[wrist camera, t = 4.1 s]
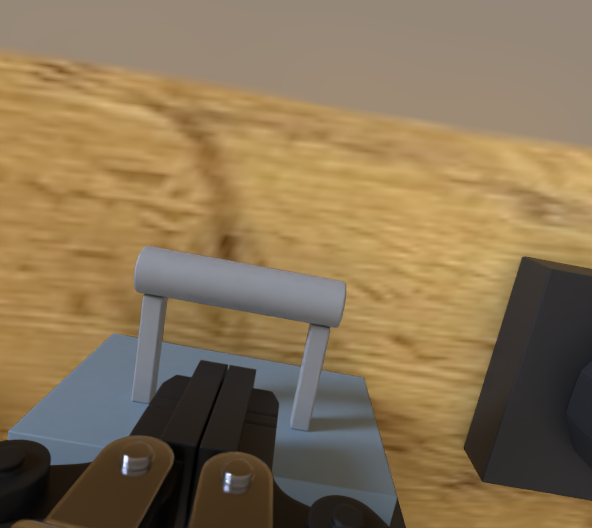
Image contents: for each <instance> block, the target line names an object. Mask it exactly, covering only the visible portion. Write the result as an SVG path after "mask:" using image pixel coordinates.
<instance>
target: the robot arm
mask: <svg viewBox="0 0 592 528" xmlns="http://www.w3.org/2000/svg"><path fill="white" fill-rule="evenodd" d="M256 371H257V369H251V368H246V367H240V366H234V365H230V366H229V368H228V364H223V363H217V362H211V361H206V360H200V362H199V364H198V366H197V368H196V369H195V371H194V373H193V375H192V377H188V376H182V375H175V376H173V377H172V378H170V379H168V380H167V381H165V382H163V383H162V384H161V386H160V388H159V389H158V391H157V392H156V394H155V397H153V399H152V400H151V402H150V403H149V406H147V408H146V410H145V411H144V413H143V414H142V416H141V417H140V419H139V421H138V422H137V424H136V425H135V427H134V428H133V430H132V432H131V433H130V435H129V436H127V437H123V438H120V439H117V440H115V441H113V442H111V443H110V444H108V445H107V446H106V447H105V448H104V449H103V450H102V451H101V452H100V453H99V454H98V455H97V457H96V458H95V459H94V460H93V461H92V462H88V463H80V464H65V465H50V464H51V455H50V452H49V450H48V449H47V448H46V447H45V446H43V445H42V444H40V443H37V442H35V441H30V440H6V441H1V442H0V528H187V526H188V528H390V527H389V526H388V525H387V524H386V523H385V522H384V521H383V520H382V519H381V518H380V517H379V516H378V515H377V514H376V513H375V512H374V511H373V510H372V509H371V508H369V507H368V506H367V505H365V504H364V503H362V502H360V501H358V500H356V499H354V498H351V497H347V496H342V495H329V496H325V497H322V498H320V499H318V500H316V501H315V502H314V503H313V504H312V506H311V507H310V506H308V505H305V504H303V503H301V502H299V501H297V500H295V499H293V498H291V497H290V496H288V495H287V494H286V493H285V492H283V491H282V490H281V489H280V487H279V486H278V485H277V483H276V482H275V480H274V477H273V473H272V466H273V457H274V448H275V439H276V430H277V421H278V412H279V402H278V400H277V398H276V396H275V395H274V393H273V391H268V390H262V389H257V388H254V383H255V377H256Z"/></svg>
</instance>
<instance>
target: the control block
mask: <svg viewBox="0 0 592 528" xmlns="http://www.w3.org/2000/svg"><path fill="white" fill-rule="evenodd" d="M464 450H465V452H466V453H467V455H468V457H469V459H470V461H471V462H472V464H473V466H474V468H475V470H476V471H477V473H478V475H479V477H480V479H481V480H482V481H483V482H486V483H492V484H498V485H504V486H510V487H516V488H521V489H527V490H533V491H539V492H545V493H551V494H556V495H562V496H568V497H574V498H580V499H585V500H591V501H592V269H589V268H584V267H578V266H573V265H568V264H562V263H557V262H551V261H546V260H541V259H535V258H530V257H522V260H521V264H520V267H519V270H518V273H517V277H516V280H515V283H514V286H513V290H512V293H511V296H510V299H509V303H508V306H507V309H506V312H505V316H504V319H503V322H502V326H501V329H500V332H499V335H498V339H497V342H496V345H495V348H494V352H493V355H492V358H491V361H490V365H489V368H488V371H487V374H486V378H485V381H484V384H483V387H482V391H481V394H480V397H479V400H478V404H477V407H476V410H475V414H474V417H473V420H472V423H471V427H470V430H469V433H468V436H467V440H466V443H465V446H464Z"/></svg>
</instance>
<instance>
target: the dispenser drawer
mask: <svg viewBox="0 0 592 528" xmlns="http://www.w3.org/2000/svg"><path fill="white" fill-rule="evenodd" d="M134 287H135V290H136V291H137V292H139V293H145V295H144V296H143V302H142V311H141V319H140V328H139V337H138V338H137V337H131V336H126V335H120V334H112V335H111V336H110V337H109V338H108V339H107V340H106V341H104V342H103V343H102V344H101V345H100V346H99V347H98V348H97V349H96V350H95V351H94V352H93V353H92V354H91V355H89V356H88V357H87V358H86V359H85V360H84V361H83V362H82V363H81V364H80V365H79V366H78V367H77V368H76V369H74V370H73V371H72V372H71V373H70V374H69V375H68V376H67V377H66V378H65V379H64V380H63V381H62V382H60V383H59V384H58V385H57V386H56V387H55V388H54V389H53V390H52V391H51V392H50V393H49V394H48V395H47V396H45V397H44V398H43V399H42V400H41V401H40V402H39V403H38V404H37V405H36V406H35V407H34V408H33V409H32V410H30V411H29V412H28V413H27V414H26V415H25V416H24V417H23V418H22V419H21V420H20V421H19V422H18V423H16V424H15V425H14V426H13V427H12V428H11V429H10V430H9V431H8V440H30V441H35V442H37V443H40V444H42V445H43V446H45V447H46V448H47V449H48V450H49V452H50V455H51V464H50V465H65V464H80V463H88V462H92V461H93V460H94V459H95V458H96V457H97V455H98V454H99V453H100V452H101V451H102V450H103V449H104V448H105V447H106V446H107V445H108V444H110V443H111V442H113V441H115V440H117V439H120V438H123V437H127V436H129V435H130V433H131V432H132V430H133V428H134V427H135V425H136V424H137V422H138V421H139V419H140V417H141V416H142V414H143V413H144V411H145V410H146V408H147V406H149V403H150V402H151V400H152V399H153V397H155V394H156V392H157V391H158V389H159V388H160V386H161V384H162V383H163V382H165V381H167V380H168V379H170V378H172V377H173V376H175V375H182V376H188V377H192V375H193V373H194V371H195V369H196V368H197V366H198V364H199V362H200V360H206V361H211V362H217V363H223V364H228V368H229V366H230V365H234V366H240V367H246V368H251V369H257V371H256V377H255V383H254V388H257V389H262V390H268V391H273V393H274V395H275V396H276V398H277V400H278V402H279V412H278V421H277V430H276V439H275V448H274V457H273V466H272V473H273V477H274V480H275V482H276V483H277V485H278V486H279V487H280V489H281V490H282V491H283V492H285V493H286V494H287V495H288V496H290V497H291V498H293V499H295V500H297V501H299V502H301V503H303V504H305V505H308V506H310V507H311V506H312V504H313V503H314V502H315V501H316V500H318V499H320V498H322V497H325V496H329V495H342V496H347V497H351V498H354V499H356V500H358V501H360V502H362V503H364V504H365V505H367V506H368V507H369V508H371V509H372V510H373V511H374V512H375V513H376V514H377V515H378V516H379V517H380V518H381V519H382V520H383V521H384V522H385V523H386V524H387V525H388V526H390V522H391V519H392V515H393V511H394V508H395V504H396V500H397V494H396V491H395V487H394V483H393V480H392V476H391V473H390V469H389V465H388V462H387V458H386V455H385V451H384V447H383V444H382V440H381V437H380V433H379V429H378V426H377V422H376V419H375V415H374V412H373V408H372V404H371V401H370V397H369V394H368V390H367V386H366V383H365V379H364V378H363V377H357V376H352V375H346V374H340V373H335V372H329V371H323V370H322V366H323V362H324V357H325V353H326V348H327V343H328V339H329V334H330V327H334V328H336V327H338V326H339V324H340V322H341V319H342V315H343V311H344V306H345V299H346V283H345V282H344V281H339V280H333V279H328V278H323V277H317V276H312V275H306V274H301V273H295V272H290V271H284V270H279V269H273V268H268V267H262V266H257V265H251V264H246V263H240V262H235V261H229V260H224V259H219V258H213V257H208V256H202V255H197V254H191V253H186V252H180V251H175V250H169V249H164V248H158V247H153V246H145V247H144V248H143V249H142V250H141V252H140V254H139V257H138V259H137V262H136V266H135V272H134ZM168 298H173V299H178V300H184V301H189V302H195V303H201V304H206V305H212V306H217V307H223V308H228V309H234V310H240V311H245V312H251V313H256V314H262V315H267V316H273V317H278V318H284V319H290V320H295V321H301V322H306V323H310V325H309V330H308V334H307V339H306V344H305V349H304V354H303V359H302V364H301V366H295V365H290V364H284V363H278V362H273V361H267V360H261V359H256V358H250V357H244V356H239V355H233V354H227V353H222V352H216V351H210V350H205V349H199V348H193V347H188V346H182V345H176V344H171V343H165V342H162V339H163V331H164V323H165V315H166V308H167V300H168Z"/></svg>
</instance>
